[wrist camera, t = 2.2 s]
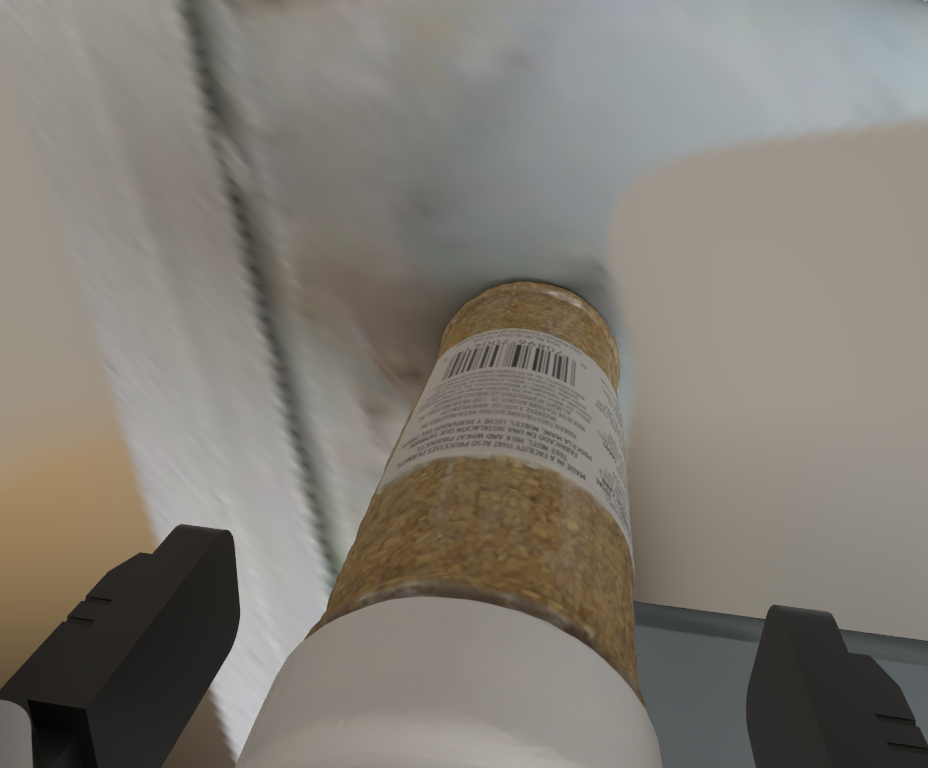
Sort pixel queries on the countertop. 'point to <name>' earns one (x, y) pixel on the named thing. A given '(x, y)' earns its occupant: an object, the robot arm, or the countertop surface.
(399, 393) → the countertop surface
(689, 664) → the tote
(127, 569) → the robot arm
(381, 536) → the spice jar
